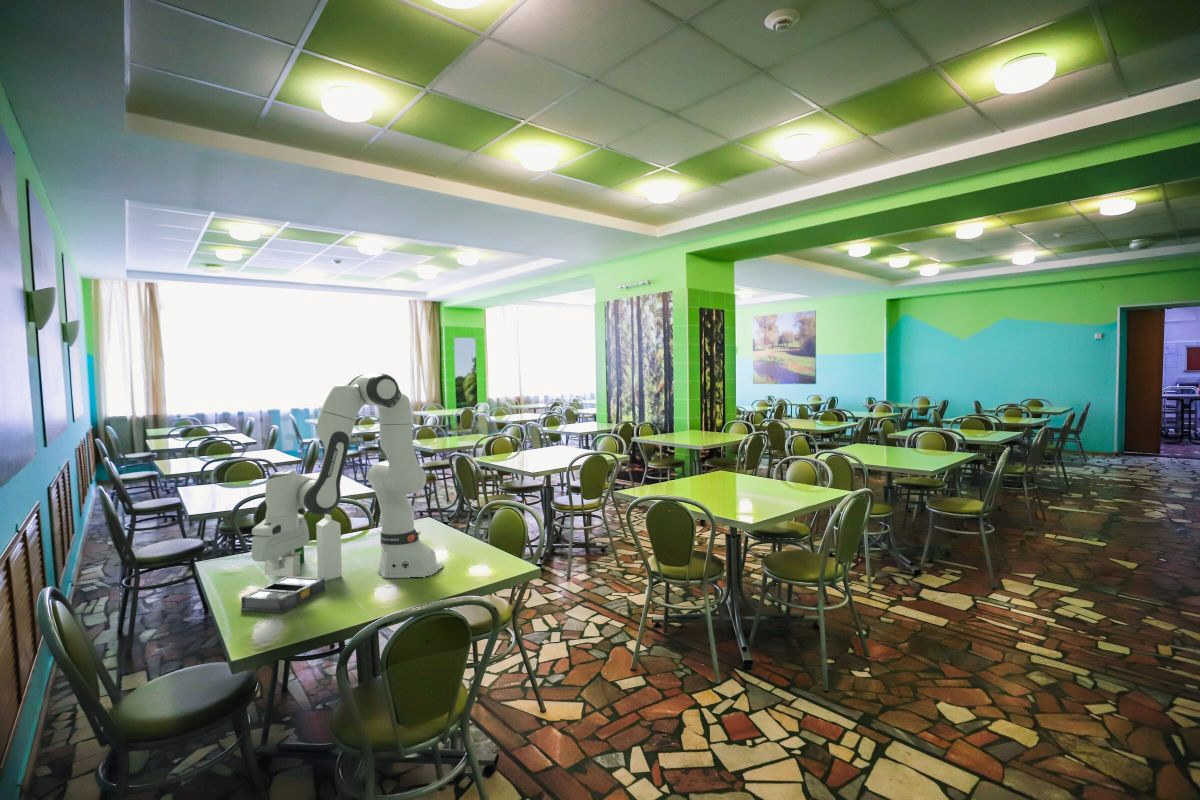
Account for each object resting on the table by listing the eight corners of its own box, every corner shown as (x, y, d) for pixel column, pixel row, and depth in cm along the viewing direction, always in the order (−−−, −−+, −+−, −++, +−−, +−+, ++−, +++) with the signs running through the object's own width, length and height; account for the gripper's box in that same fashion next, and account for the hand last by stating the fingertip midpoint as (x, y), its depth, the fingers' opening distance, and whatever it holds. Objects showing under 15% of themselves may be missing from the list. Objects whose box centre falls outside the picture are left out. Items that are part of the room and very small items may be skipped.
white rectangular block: (300, 573, 177) (299, 554, 177) (293, 576, 174) (292, 557, 174) (272, 571, 179) (272, 552, 179) (265, 574, 176) (264, 555, 176)
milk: (335, 572, 202) (333, 511, 201) (342, 576, 197) (340, 514, 197) (317, 577, 197) (315, 514, 197) (324, 581, 193) (322, 517, 192)
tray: (326, 590, 185) (326, 578, 185) (282, 614, 166) (282, 600, 166) (287, 587, 188) (287, 575, 188) (240, 610, 169) (239, 597, 169)
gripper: (297, 515, 187) (297, 557, 187) (247, 530, 167) (247, 577, 167) (314, 516, 185) (314, 558, 186) (265, 531, 165) (266, 578, 166)
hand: (282, 567), depth 176 cm, fingers closed on white rectangular block, 3 cm apart
